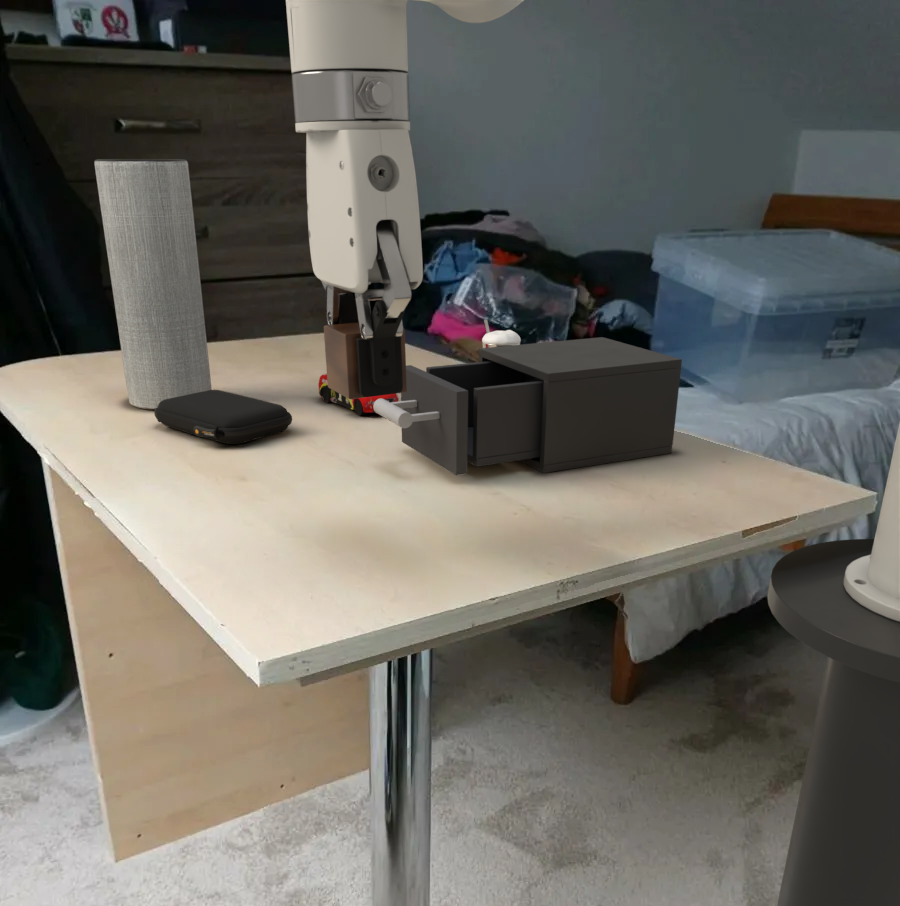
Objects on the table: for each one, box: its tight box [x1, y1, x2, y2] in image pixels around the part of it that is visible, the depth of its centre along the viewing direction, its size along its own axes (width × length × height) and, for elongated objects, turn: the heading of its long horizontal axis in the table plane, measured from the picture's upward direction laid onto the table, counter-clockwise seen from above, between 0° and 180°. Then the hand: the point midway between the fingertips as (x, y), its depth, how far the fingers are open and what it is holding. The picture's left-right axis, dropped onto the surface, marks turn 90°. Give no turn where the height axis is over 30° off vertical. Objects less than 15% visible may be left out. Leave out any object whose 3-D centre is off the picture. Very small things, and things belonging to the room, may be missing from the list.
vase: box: [94, 158, 213, 411], centre depth 111 cm, size 10×10×27 cm
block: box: [323, 322, 407, 399], centre depth 68 cm, size 4×4×4 cm
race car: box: [318, 372, 400, 416], centre depth 114 cm, size 13×5×4 cm, turn 35°
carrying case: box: [153, 389, 293, 445], centre depth 104 cm, size 11×3×15 cm
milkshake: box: [481, 318, 522, 348], centre depth 112 cm, size 5×5×10 cm
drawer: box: [373, 361, 544, 476], centre depth 93 cm, size 19×12×8 cm, turn 117°
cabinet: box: [478, 336, 683, 474], centre depth 98 cm, size 16×14×10 cm
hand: (366, 384), depth 69 cm, fingers closed on block, 4 cm apart
